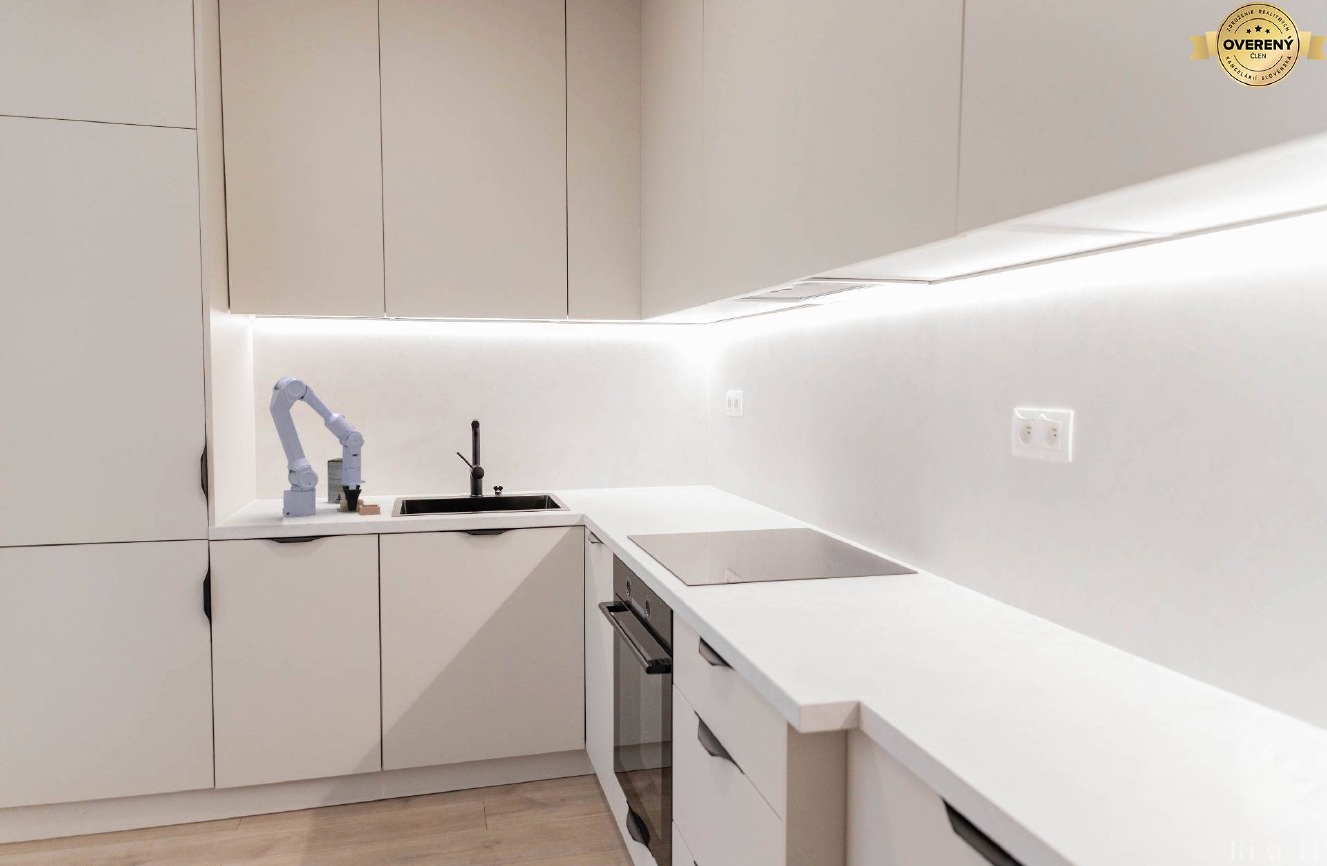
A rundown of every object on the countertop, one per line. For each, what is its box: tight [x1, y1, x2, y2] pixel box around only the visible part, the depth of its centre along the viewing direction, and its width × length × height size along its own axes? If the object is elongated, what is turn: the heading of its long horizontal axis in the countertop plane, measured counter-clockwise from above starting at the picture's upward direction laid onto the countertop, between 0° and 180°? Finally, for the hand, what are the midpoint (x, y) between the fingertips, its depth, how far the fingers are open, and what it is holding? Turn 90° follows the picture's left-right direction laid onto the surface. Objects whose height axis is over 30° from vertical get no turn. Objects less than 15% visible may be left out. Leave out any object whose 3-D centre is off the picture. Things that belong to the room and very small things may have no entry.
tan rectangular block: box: [339, 498, 365, 512], centre depth 267 cm, size 7×5×3 cm
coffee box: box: [327, 457, 348, 505], centre depth 283 cm, size 9×6×16 cm
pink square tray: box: [358, 503, 381, 516], centre depth 261 cm, size 6×6×4 cm
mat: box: [336, 508, 354, 513], centre depth 267 cm, size 9×7×1 cm
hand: (351, 508), depth 267 cm, fingers open, 7 cm apart
